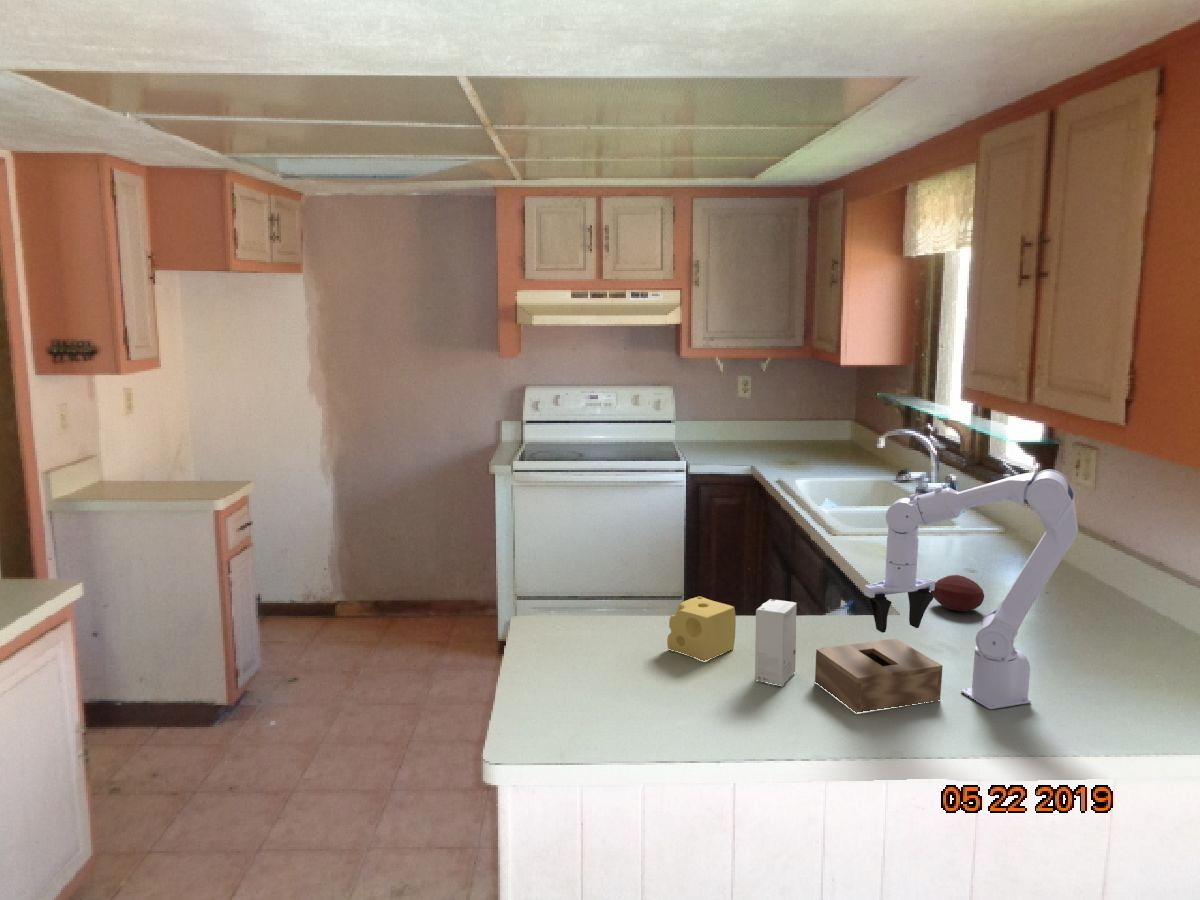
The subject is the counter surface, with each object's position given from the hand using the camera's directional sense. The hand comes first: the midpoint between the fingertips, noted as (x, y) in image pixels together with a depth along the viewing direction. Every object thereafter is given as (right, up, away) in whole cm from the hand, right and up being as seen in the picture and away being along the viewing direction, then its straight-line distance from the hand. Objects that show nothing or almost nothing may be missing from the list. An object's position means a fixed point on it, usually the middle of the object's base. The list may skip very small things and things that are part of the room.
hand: (897, 628), depth 176 cm
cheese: (-36, -8, +16) cm, 41 cm away
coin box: (-5, -11, -4) cm, 13 cm away
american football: (+27, -4, +40) cm, 49 cm away
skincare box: (-23, -10, +3) cm, 26 cm away
